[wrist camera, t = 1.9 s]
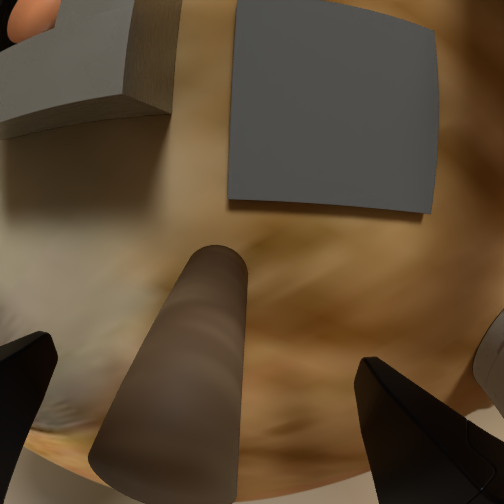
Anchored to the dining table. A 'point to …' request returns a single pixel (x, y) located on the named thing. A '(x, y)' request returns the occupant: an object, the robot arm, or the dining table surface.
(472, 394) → the dining table surface
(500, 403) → the thermos bottle
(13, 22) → the orange rounded dome
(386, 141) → the pad
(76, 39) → the plate
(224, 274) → the brown cylinder rod
